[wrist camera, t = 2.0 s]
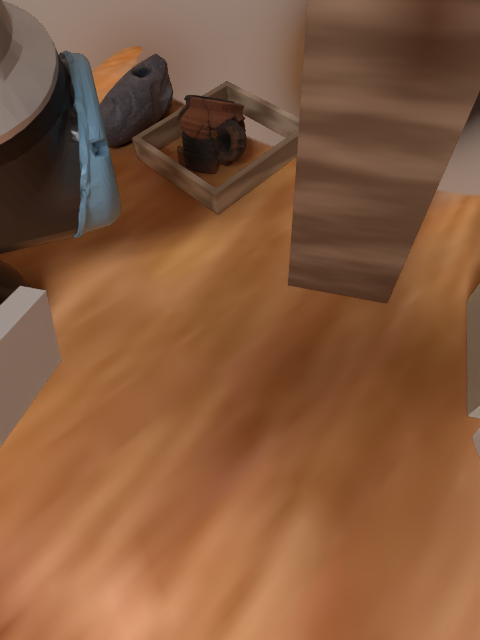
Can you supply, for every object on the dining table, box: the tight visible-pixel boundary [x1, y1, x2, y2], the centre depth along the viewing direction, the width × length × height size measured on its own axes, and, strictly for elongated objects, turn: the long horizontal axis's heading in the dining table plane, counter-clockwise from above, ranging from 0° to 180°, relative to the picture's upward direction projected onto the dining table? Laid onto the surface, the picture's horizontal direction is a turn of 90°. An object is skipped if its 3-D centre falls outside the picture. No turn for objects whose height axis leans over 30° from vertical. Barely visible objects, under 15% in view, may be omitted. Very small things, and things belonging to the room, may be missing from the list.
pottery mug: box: [177, 95, 246, 173], centre depth 53 cm, size 12×10×8 cm
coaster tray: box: [132, 81, 300, 215], centre depth 54 cm, size 16×17×3 cm
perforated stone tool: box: [100, 54, 173, 147], centre depth 56 cm, size 15×5×7 cm, turn 145°
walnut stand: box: [288, 0, 480, 303], centre depth 33 cm, size 16×10×32 cm, turn 165°
